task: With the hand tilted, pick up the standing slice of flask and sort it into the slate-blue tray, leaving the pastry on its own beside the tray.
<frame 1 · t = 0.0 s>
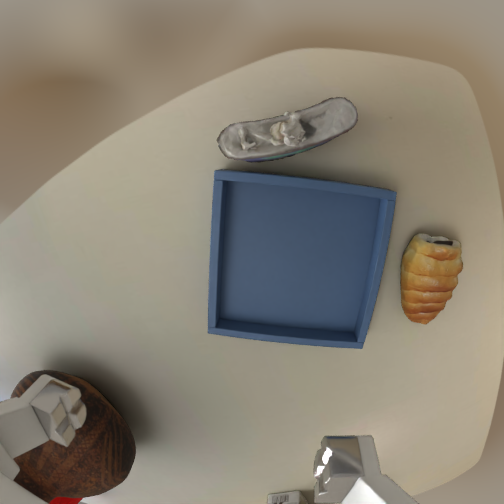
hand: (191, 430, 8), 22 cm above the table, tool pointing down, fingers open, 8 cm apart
blue tray: (296, 259, 29), on the table
pastry: (425, 269, 28), on the table
jug: (88, 405, 40), on the table
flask: (287, 140, 26), on the table
coffee box: (290, 500, 43), on the table
water bottle: (70, 475, 53), on the table
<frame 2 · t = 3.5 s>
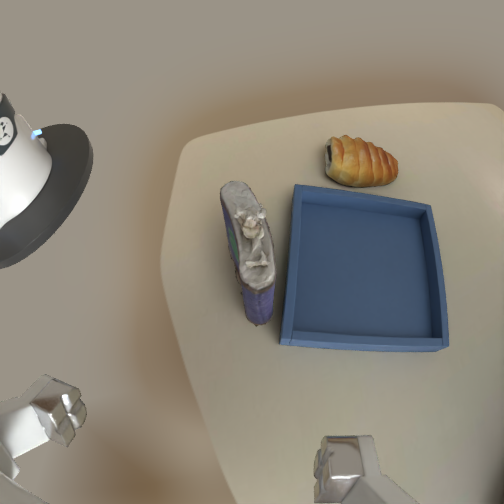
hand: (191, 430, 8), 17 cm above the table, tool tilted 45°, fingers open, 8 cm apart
blue tray: (365, 272, 29), on the table
pastry: (354, 169, 35), on the table
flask: (251, 280, 29), on the table
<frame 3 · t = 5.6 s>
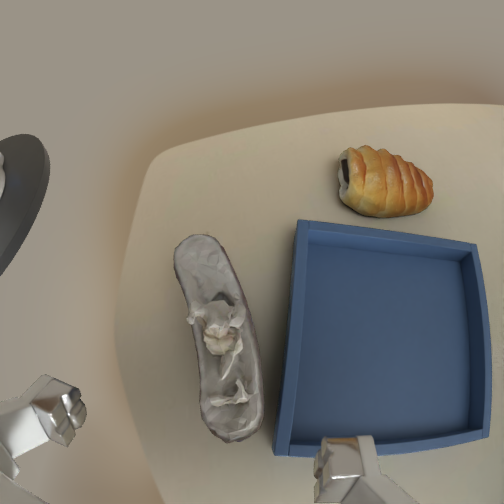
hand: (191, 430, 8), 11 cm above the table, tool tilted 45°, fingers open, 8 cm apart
blue tray: (391, 343, 20), on the table
pastry: (376, 191, 26), on the table
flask: (234, 360, 20), on the table
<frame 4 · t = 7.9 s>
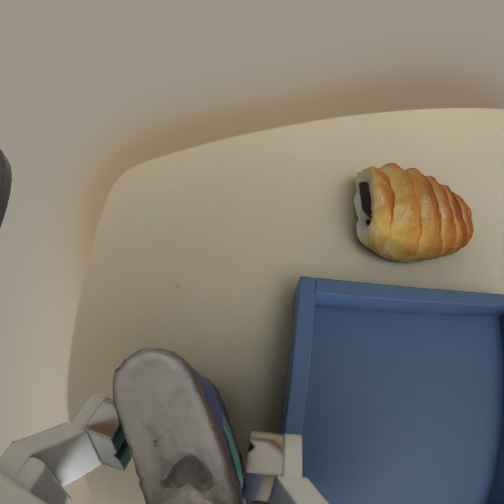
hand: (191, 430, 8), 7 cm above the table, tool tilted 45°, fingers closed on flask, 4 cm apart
blue tray: (414, 431, 13), on the table
pastry: (402, 223, 20), on the table
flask: (212, 457, 13), on the table, touching gripper
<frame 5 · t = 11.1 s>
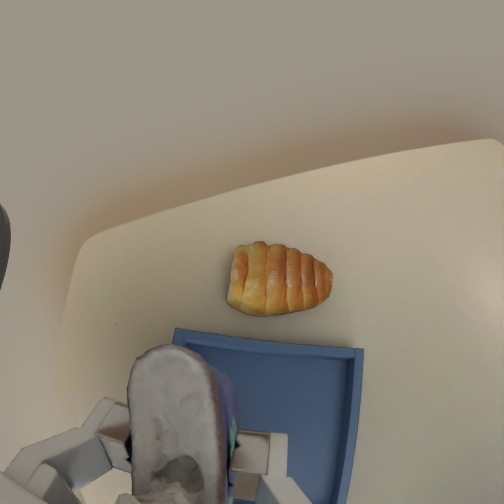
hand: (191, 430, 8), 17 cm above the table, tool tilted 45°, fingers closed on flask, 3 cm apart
blue tray: (257, 433, 22), on the table
pastry: (272, 283, 29), on the table
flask: (212, 453, 13), point 10 cm above the table, touching gripper
when the fingers open (7 cm above the table, at t = 14.3 s): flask stays where it is, resting on blue tray.
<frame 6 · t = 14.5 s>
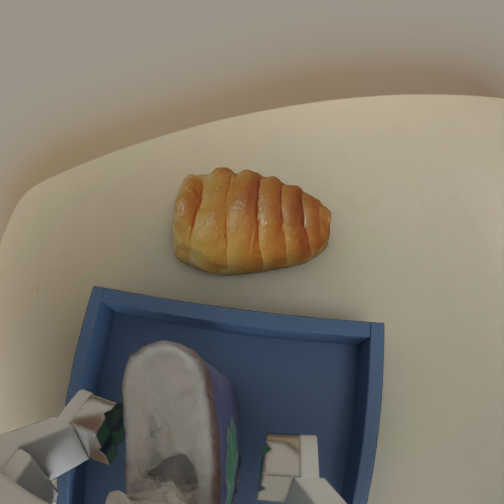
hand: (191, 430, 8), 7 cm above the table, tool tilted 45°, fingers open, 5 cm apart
blue tray: (213, 456, 13), on the table
pastry: (243, 231, 20), on the table
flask: (212, 455, 13), resting on blue tray
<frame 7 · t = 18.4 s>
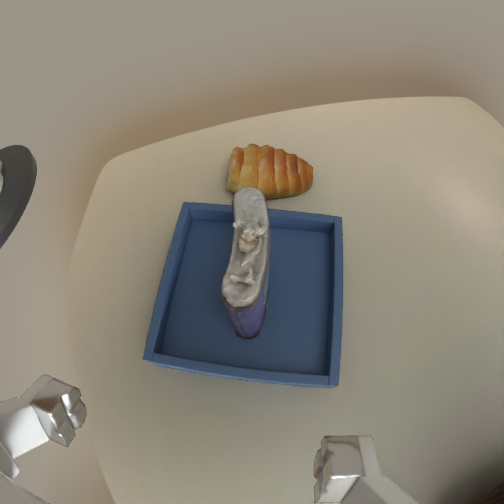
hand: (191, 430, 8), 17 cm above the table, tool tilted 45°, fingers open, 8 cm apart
blue tray: (251, 294, 28), on the table
pastry: (264, 180, 34), on the table
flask: (251, 291, 27), resting on blue tray
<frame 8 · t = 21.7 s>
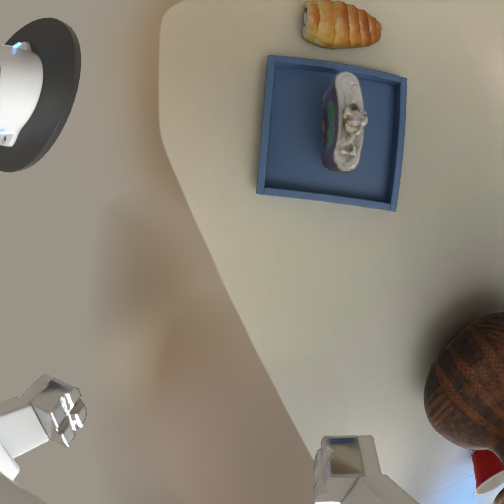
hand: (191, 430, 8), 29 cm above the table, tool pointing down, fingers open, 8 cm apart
blue tray: (332, 132, 32), on the table
pastry: (334, 27, 28), on the table
jug: (468, 357, 38), on the table
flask: (333, 130, 31), resting on blue tray
plastic cup: (480, 450, 46), on the table
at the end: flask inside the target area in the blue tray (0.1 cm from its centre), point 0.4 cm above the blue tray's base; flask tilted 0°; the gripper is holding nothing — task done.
